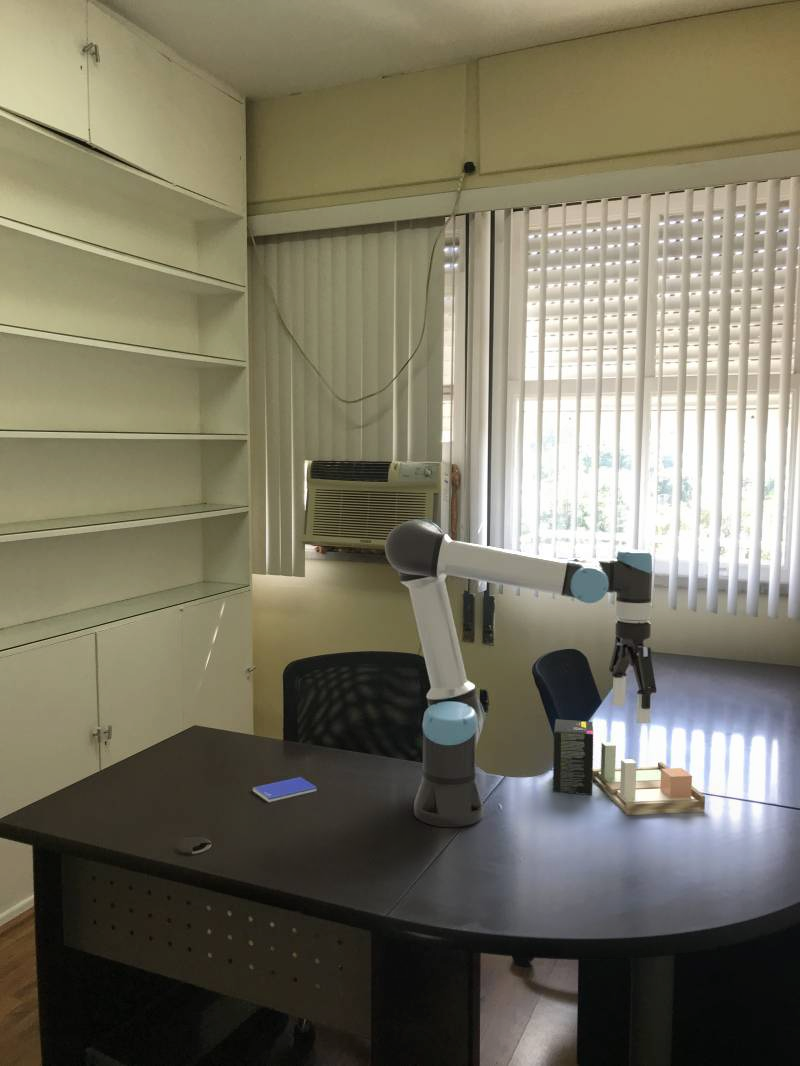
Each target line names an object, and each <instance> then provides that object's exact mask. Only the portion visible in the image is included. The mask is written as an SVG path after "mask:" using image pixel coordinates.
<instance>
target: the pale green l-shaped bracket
mask: <svg viewBox="0 0 800 1066" xmlns="http://www.w3.org/2000/svg"><path fill="white" fill-rule="evenodd" d="M600 749H601V750H600V751H601V755H600V769H601V772H598V776H599V777H600V778H601V779H602V780H603V781H604V782H605V783H613V782H621V771H615V768H616V759H617V758H616V755H617V753H616V752H617V751H616V750H617V745H616V744H615V743H614V742H612V741H611V742H610V741H609V742H606V741H605V742H601V748H600ZM637 781H661V771H660V770H636V782H637Z"/></svg>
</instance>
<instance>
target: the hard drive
mask: <svg viewBox="0 0 800 1066" xmlns="http://www.w3.org/2000/svg"><path fill="white" fill-rule="evenodd" d="M317 791H318V790H317V786H316V785H314V784H312V783H311V782H309V781H308V780H306V779H304V778H303V777H301V776H298V777H295V778H291V779H285V780H280V781H277V782H271V783H267V784H262V785H259V786H254V787H252V792H254V794H256V795H258V796H259V797H261V798H262V799H263V800H265V801H266V802H267V803H272V802H276V801H279V800H285V799H288V798H289V799H290V798H293V797H297V796H300V795H305V794H309V793H313V792H317Z"/></svg>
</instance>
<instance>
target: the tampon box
mask: <svg viewBox="0 0 800 1066" xmlns="http://www.w3.org/2000/svg"><path fill="white" fill-rule="evenodd" d="M554 722H555V723H554V731H553V753H552V754H553V756H552V757H553V758H552V759H553V761H552V763H553V764H552V765H553V766H552V791H553V792H559V793H569V794H570V793H571V794H581V795H593V769H594V768H593V767H594V727H593V726H594V725H593V721H584V720H583V721H582V720H576V719H575V720H572V719H570V720H569V719H559V718H556V719H555V721H554Z"/></svg>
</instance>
